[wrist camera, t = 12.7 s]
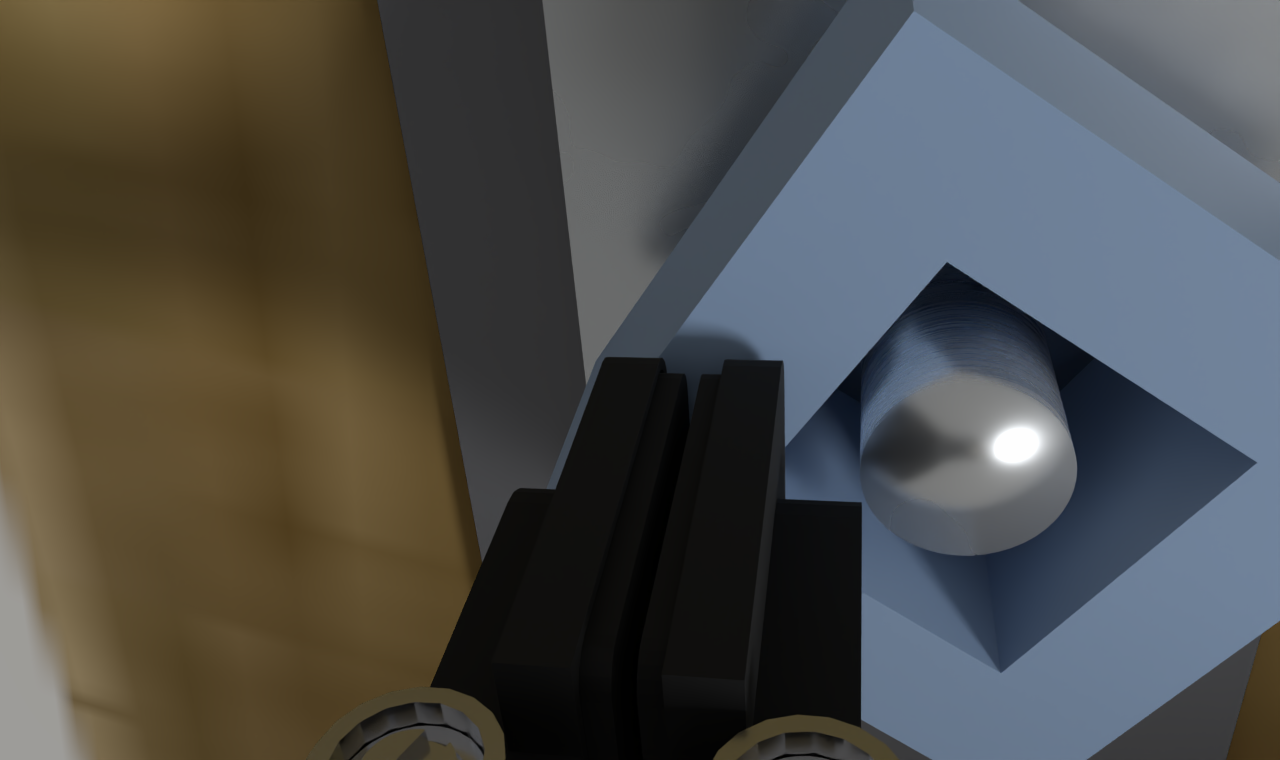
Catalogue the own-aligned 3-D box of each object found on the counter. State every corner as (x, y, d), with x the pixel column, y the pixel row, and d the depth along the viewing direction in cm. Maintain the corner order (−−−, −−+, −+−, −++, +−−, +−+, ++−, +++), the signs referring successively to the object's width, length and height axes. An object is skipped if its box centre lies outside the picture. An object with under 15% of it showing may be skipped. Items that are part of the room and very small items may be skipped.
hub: (1446, -206, 12) (1816, -112, 8) (1255, 527, 18) (1400, 859, 13) (542, -153, 14) (372, -50, 9) (611, 498, 19) (525, 778, 15)
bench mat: (1578, -562, 11) (1599, -568, 11) (1089, 1217, 30) (1091, 1235, 30) (311, -428, 13) (297, -430, 13) (596, 1145, 32) (594, 1161, 32)
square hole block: (1381, 254, 13) (1535, 436, 10) (991, 596, 16) (1018, 808, 13) (902, -80, 12) (913, 10, 9) (596, 360, 15) (529, 532, 12)
